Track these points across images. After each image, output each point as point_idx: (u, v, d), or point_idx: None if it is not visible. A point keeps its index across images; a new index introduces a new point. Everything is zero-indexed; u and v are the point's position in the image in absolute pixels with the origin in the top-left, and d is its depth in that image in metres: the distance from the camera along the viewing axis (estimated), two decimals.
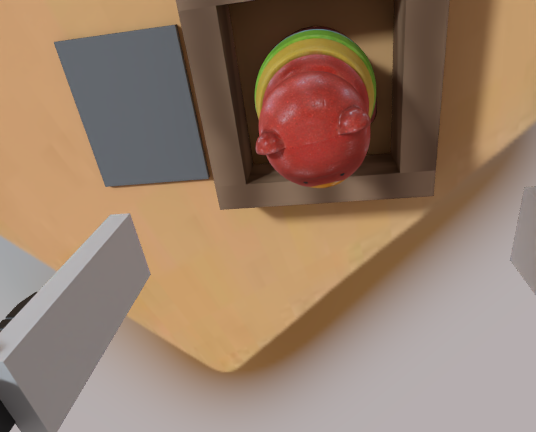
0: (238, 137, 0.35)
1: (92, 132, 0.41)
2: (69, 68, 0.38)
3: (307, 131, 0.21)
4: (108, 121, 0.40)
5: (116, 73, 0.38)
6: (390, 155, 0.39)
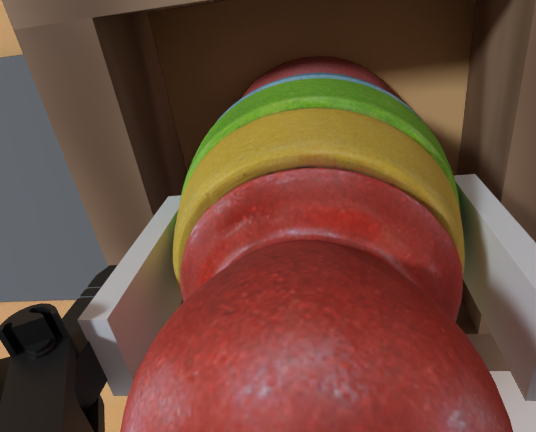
0: None
1: None
2: None
3: None
4: None
5: None
6: None
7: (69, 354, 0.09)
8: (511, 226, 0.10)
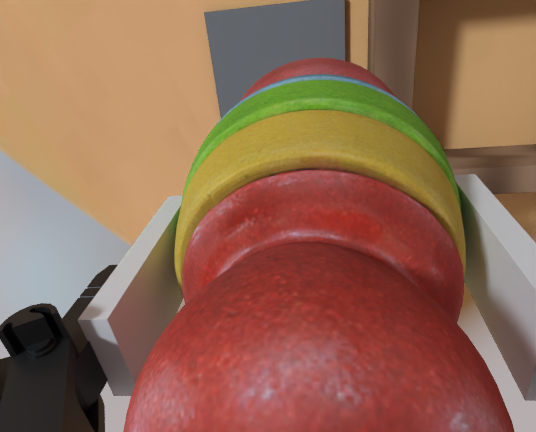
0: None
1: None
2: (216, 41, 0.35)
3: None
4: None
5: (267, 48, 0.35)
6: None
7: (69, 354, 0.09)
8: (511, 226, 0.10)
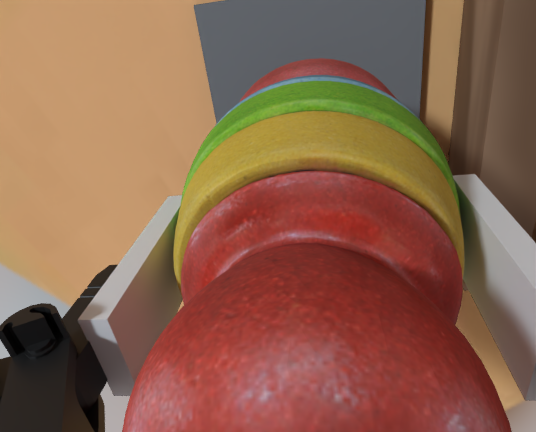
0: None
1: None
2: (214, 51, 0.22)
3: None
4: None
5: (296, 59, 0.22)
6: None
7: (69, 354, 0.09)
8: (511, 226, 0.10)
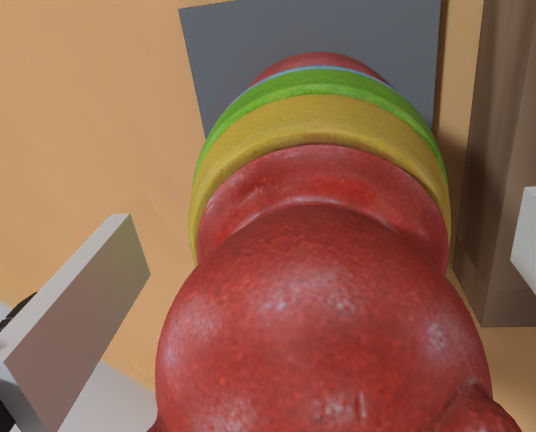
0: None
1: None
2: (202, 60, 0.20)
3: None
4: None
5: None
6: None
7: None
8: None
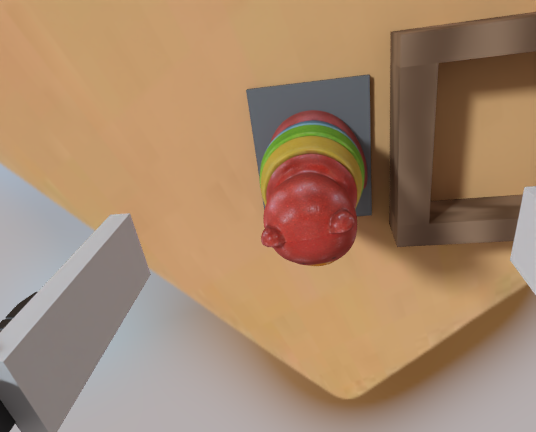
0: None
1: None
2: (256, 113, 0.40)
3: (303, 230, 0.26)
4: None
5: None
6: None
7: None
8: None
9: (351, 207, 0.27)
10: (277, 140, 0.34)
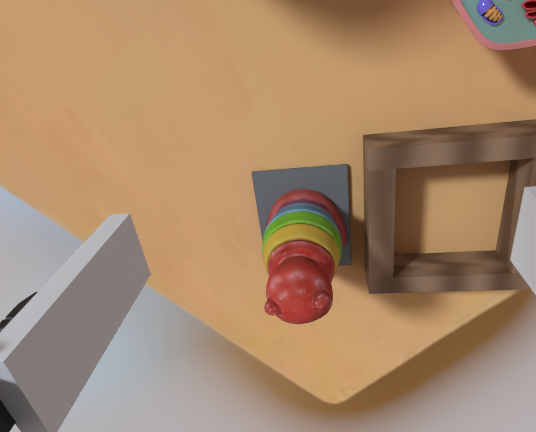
0: (393, 247, 0.48)
1: None
2: (259, 189, 0.51)
3: (294, 305, 0.37)
4: None
5: None
6: (496, 253, 0.52)
7: None
8: None
9: (328, 287, 0.38)
10: (276, 223, 0.45)
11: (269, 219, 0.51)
